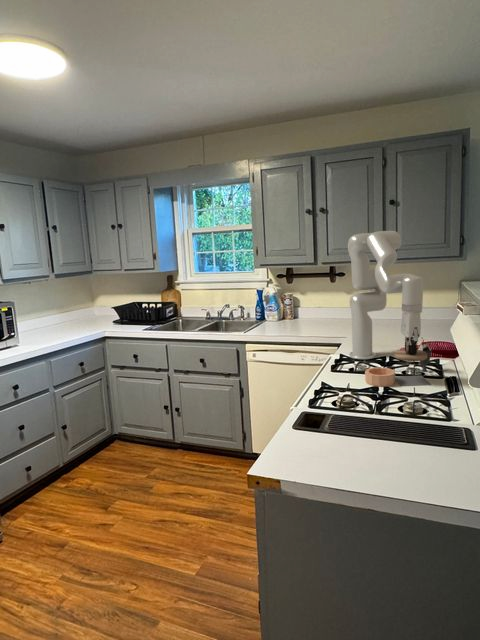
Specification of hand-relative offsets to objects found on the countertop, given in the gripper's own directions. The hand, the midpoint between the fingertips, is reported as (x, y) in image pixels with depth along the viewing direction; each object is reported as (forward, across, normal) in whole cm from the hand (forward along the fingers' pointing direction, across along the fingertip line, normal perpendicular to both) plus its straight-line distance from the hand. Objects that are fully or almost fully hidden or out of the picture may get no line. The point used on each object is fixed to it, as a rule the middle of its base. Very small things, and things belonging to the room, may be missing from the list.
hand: (410, 352), depth 178 cm
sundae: (+13, -11, +9) cm, 19 cm away
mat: (+12, +1, 0) cm, 12 cm away
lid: (+2, 0, 0) cm, 2 cm away
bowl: (+12, +1, -12) cm, 17 cm away
